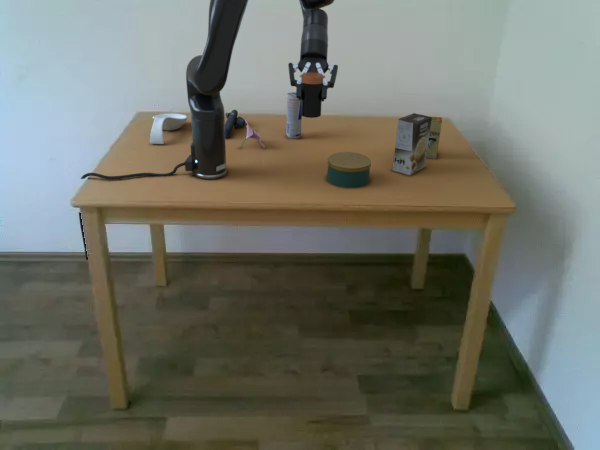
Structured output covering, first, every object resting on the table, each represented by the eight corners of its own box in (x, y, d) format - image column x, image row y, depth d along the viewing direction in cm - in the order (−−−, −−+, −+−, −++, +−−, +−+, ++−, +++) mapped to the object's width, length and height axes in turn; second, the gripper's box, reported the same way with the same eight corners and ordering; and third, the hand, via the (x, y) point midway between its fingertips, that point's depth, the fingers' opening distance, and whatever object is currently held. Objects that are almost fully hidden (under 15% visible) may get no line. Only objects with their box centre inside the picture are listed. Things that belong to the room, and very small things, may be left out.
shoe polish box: (421, 151, 192) (425, 116, 186) (436, 153, 191) (441, 117, 185) (420, 157, 187) (425, 120, 182) (436, 158, 187) (441, 122, 181)
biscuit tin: (325, 186, 165) (326, 166, 163) (328, 169, 176) (329, 150, 173) (369, 189, 164) (371, 169, 162) (369, 172, 175) (371, 153, 172)
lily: (259, 158, 185) (272, 130, 184) (225, 142, 184) (238, 114, 183) (261, 156, 197) (274, 130, 195) (229, 141, 196) (241, 114, 194)
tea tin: (299, 117, 160) (300, 76, 155) (301, 110, 165) (302, 71, 160) (320, 118, 160) (322, 78, 155) (322, 112, 165) (324, 72, 160)
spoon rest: (158, 121, 211) (156, 102, 208) (190, 122, 211) (189, 103, 207) (139, 144, 190) (137, 123, 187) (175, 146, 190) (174, 124, 187)
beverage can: (303, 136, 202) (305, 93, 195) (295, 140, 198) (297, 96, 191) (291, 133, 204) (292, 90, 197) (283, 137, 200) (284, 93, 193)
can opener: (228, 122, 213) (227, 107, 210) (247, 123, 212) (246, 108, 209) (215, 138, 197) (214, 122, 195) (235, 140, 197) (235, 123, 194)
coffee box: (410, 176, 173) (417, 124, 166) (391, 170, 177) (397, 119, 169) (425, 167, 180) (432, 116, 172) (407, 162, 183) (413, 112, 176)
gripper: (288, 36, 160) (284, 91, 155) (340, 38, 160) (338, 93, 155) (288, 52, 167) (285, 105, 162) (339, 54, 167) (337, 107, 162)
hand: (311, 99), depth 159 cm, fingers closed on tea tin, 5 cm apart
